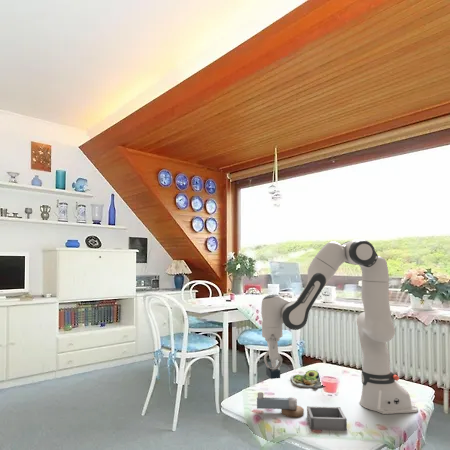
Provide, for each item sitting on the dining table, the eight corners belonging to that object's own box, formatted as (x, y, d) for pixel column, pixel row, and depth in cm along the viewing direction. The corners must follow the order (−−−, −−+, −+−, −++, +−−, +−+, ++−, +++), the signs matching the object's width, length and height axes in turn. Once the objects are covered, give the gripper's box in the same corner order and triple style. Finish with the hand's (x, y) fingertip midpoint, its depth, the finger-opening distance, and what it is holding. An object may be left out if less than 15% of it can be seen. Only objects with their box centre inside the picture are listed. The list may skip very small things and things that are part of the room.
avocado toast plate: (332, 391, 183) (331, 381, 183) (294, 391, 184) (294, 381, 184) (323, 377, 202) (323, 368, 203) (289, 377, 203) (289, 368, 203)
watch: (284, 377, 165) (284, 351, 165) (266, 379, 163) (266, 353, 163) (279, 373, 170) (279, 348, 171) (262, 374, 168) (262, 349, 169)
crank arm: (296, 406, 160) (296, 392, 160) (297, 410, 156) (297, 395, 156) (257, 405, 161) (256, 391, 161) (257, 409, 157) (256, 394, 158)
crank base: (302, 408, 162) (302, 404, 162) (305, 417, 153) (304, 413, 153) (280, 408, 163) (280, 404, 163) (282, 417, 154) (282, 413, 154)
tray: (340, 417, 153) (340, 407, 153) (346, 430, 142) (346, 419, 142) (307, 416, 154) (306, 406, 154) (311, 429, 143) (310, 418, 143)
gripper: (281, 337, 157) (282, 372, 156) (278, 327, 178) (279, 358, 177) (265, 337, 158) (266, 372, 157) (264, 328, 178) (265, 358, 177)
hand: (273, 364), depth 167 cm, fingers closed on watch, 4 cm apart
